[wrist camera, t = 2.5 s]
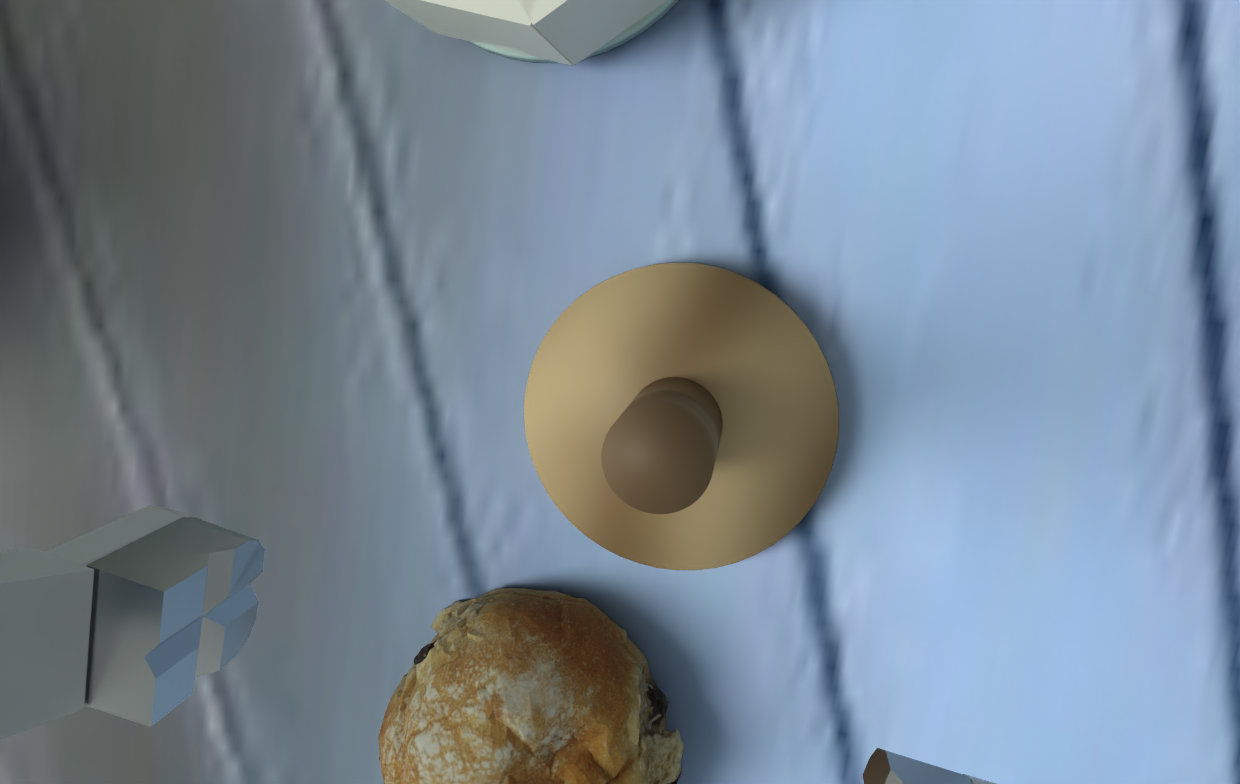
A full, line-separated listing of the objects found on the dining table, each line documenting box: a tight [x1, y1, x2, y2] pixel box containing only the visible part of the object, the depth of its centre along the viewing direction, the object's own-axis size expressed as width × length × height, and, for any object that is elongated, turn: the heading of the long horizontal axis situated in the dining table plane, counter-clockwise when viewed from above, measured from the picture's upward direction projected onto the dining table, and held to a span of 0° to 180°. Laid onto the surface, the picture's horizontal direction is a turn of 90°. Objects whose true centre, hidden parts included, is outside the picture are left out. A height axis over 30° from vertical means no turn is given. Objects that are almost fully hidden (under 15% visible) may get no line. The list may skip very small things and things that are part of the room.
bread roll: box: [379, 588, 684, 784], centre depth 25 cm, size 10×10×8 cm
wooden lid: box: [524, 262, 839, 570], centre depth 22 cm, size 10×10×5 cm
